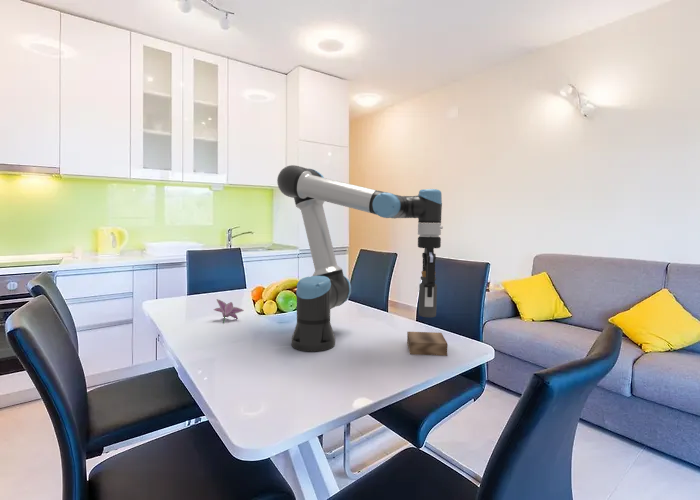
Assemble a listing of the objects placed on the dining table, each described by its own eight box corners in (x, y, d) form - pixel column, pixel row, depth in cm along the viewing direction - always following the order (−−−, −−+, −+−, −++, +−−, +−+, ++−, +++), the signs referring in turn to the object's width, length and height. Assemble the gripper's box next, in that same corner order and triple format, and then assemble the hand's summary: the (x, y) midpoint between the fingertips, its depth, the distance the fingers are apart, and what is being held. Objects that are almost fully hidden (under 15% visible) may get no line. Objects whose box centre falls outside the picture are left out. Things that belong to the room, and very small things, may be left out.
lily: (246, 324, 158) (248, 303, 162) (223, 319, 149) (226, 296, 153) (227, 329, 164) (230, 308, 168) (204, 324, 155) (207, 302, 159)
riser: (409, 354, 122) (410, 342, 122) (407, 342, 134) (407, 331, 134) (447, 355, 121) (447, 343, 121) (441, 343, 133) (441, 332, 133)
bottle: (436, 318, 123) (437, 273, 122) (418, 316, 124) (419, 272, 123) (436, 313, 129) (437, 270, 128) (418, 312, 130) (419, 270, 129)
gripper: (445, 237, 115) (443, 311, 117) (436, 235, 134) (434, 298, 136) (421, 237, 116) (419, 310, 117) (415, 234, 134) (413, 298, 136)
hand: (427, 304), depth 126 cm, fingers closed on bottle, 6 cm apart
